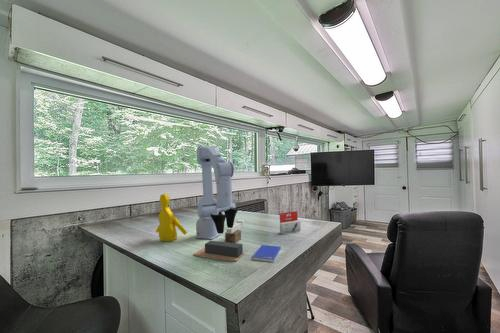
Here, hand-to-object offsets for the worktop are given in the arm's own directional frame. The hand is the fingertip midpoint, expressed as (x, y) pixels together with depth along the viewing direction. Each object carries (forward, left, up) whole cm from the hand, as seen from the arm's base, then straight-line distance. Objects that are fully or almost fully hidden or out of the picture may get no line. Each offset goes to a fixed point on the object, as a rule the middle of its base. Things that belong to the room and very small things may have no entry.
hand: (225, 230), depth 80 cm
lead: (-1, 0, -9) cm, 9 cm away
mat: (-3, -1, -9) cm, 10 cm away
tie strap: (-5, +19, -5) cm, 20 cm away
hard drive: (+14, +6, -10) cm, 18 cm away
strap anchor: (-5, +16, -9) cm, 19 cm away
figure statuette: (-35, +8, -10) cm, 37 cm away
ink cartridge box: (+17, +36, -10) cm, 41 cm away
